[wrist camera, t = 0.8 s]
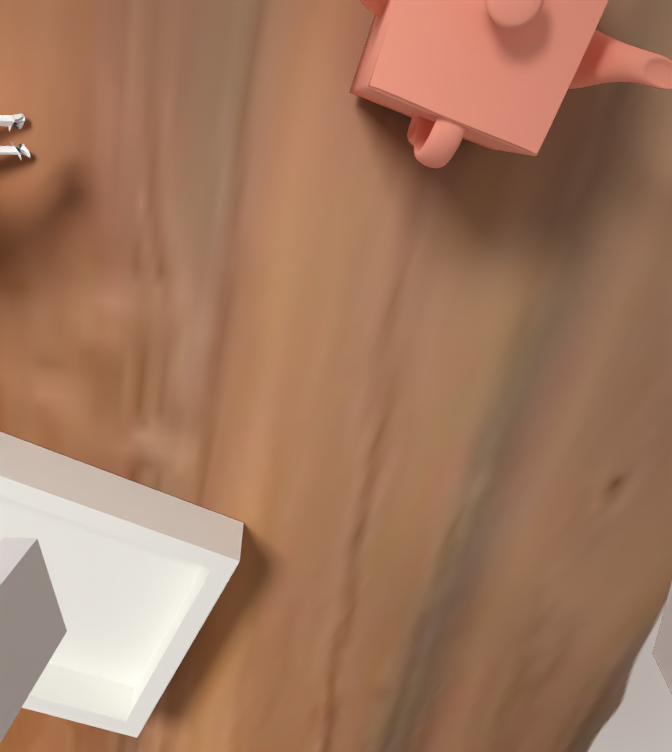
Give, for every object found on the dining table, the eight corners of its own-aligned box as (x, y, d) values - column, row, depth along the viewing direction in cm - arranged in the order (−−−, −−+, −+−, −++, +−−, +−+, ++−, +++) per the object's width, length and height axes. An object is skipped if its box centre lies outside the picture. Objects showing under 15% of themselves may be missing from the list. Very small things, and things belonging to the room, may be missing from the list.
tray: (-97, 395, 32) (-140, 425, 29) (243, 523, 37) (239, 561, 34) (-159, 603, 37) (-201, 649, 34) (148, 690, 42) (136, 737, 39)
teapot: (535, 209, 31) (617, 240, 23) (255, 100, 28) (245, 94, 20) (656, -48, 27) (805, -114, 19) (343, -211, 24) (371, -366, 16)
